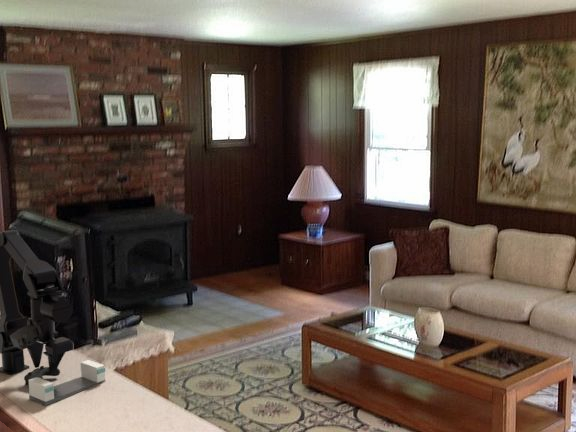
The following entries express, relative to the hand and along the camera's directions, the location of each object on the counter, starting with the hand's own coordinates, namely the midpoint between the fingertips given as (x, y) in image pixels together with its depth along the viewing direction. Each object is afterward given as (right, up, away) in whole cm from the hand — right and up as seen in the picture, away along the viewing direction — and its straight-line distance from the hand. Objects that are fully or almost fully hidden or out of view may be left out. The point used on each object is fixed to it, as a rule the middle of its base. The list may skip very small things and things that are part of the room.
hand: (44, 370), depth 186 cm
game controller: (+1, -4, 0) cm, 4 cm away
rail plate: (+8, -4, -6) cm, 11 cm away
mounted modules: (+8, -3, -6) cm, 10 cm away
